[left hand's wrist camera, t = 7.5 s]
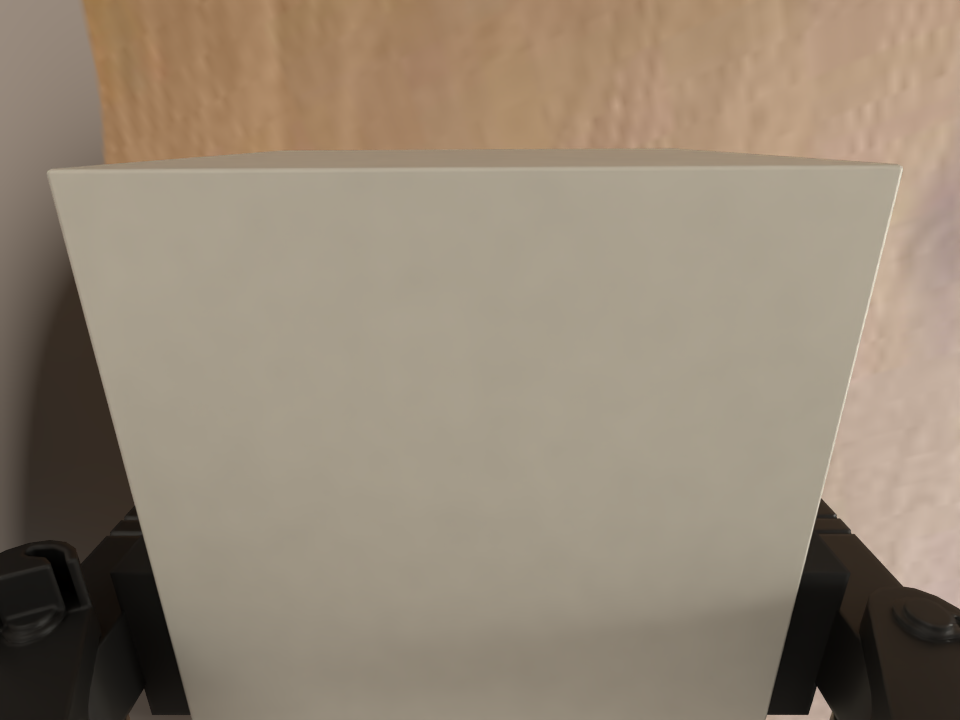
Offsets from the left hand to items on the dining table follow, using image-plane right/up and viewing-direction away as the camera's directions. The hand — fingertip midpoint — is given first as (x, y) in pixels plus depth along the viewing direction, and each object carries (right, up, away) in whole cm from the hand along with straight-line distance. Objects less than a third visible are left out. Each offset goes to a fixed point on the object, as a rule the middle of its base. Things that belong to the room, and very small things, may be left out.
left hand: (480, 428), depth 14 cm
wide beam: (0, -25, +10) cm, 27 cm away
